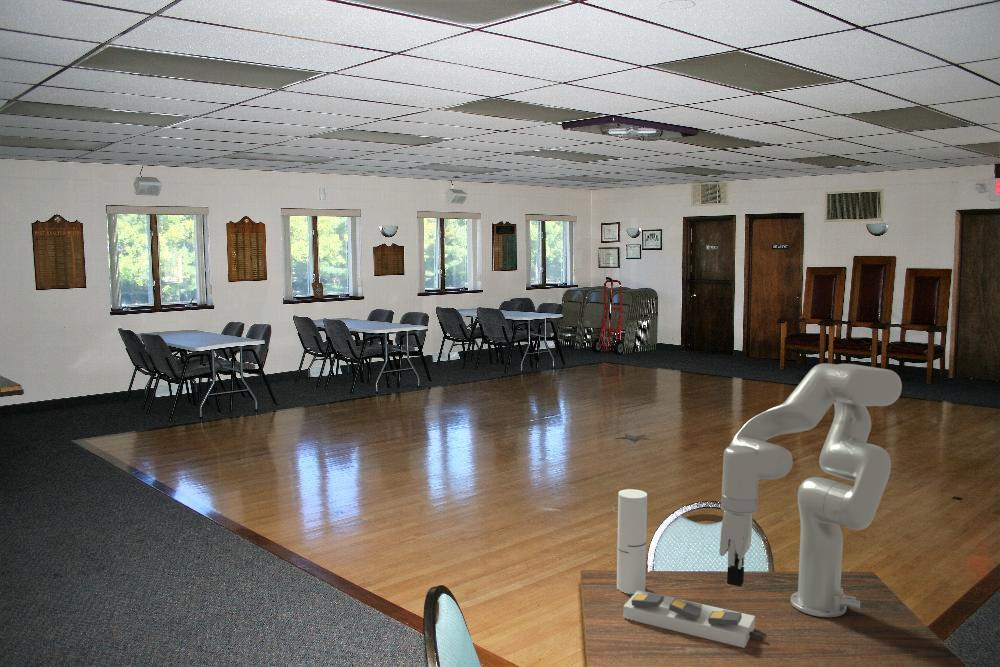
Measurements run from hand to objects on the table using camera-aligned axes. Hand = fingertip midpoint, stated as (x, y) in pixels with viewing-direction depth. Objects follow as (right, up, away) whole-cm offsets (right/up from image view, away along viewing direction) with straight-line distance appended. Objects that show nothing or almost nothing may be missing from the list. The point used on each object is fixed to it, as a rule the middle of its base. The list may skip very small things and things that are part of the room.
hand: (735, 583), depth 177 cm
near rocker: (-2, -8, +2) cm, 9 cm away
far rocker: (-17, -7, +11) cm, 22 cm away
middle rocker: (-9, -8, +7) cm, 14 cm away
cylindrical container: (-18, -10, +28) cm, 35 cm away
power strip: (-7, -12, +9) cm, 17 cm away
